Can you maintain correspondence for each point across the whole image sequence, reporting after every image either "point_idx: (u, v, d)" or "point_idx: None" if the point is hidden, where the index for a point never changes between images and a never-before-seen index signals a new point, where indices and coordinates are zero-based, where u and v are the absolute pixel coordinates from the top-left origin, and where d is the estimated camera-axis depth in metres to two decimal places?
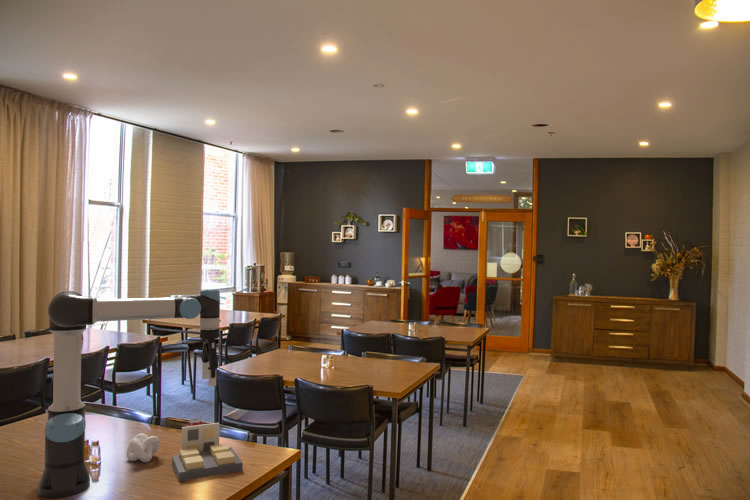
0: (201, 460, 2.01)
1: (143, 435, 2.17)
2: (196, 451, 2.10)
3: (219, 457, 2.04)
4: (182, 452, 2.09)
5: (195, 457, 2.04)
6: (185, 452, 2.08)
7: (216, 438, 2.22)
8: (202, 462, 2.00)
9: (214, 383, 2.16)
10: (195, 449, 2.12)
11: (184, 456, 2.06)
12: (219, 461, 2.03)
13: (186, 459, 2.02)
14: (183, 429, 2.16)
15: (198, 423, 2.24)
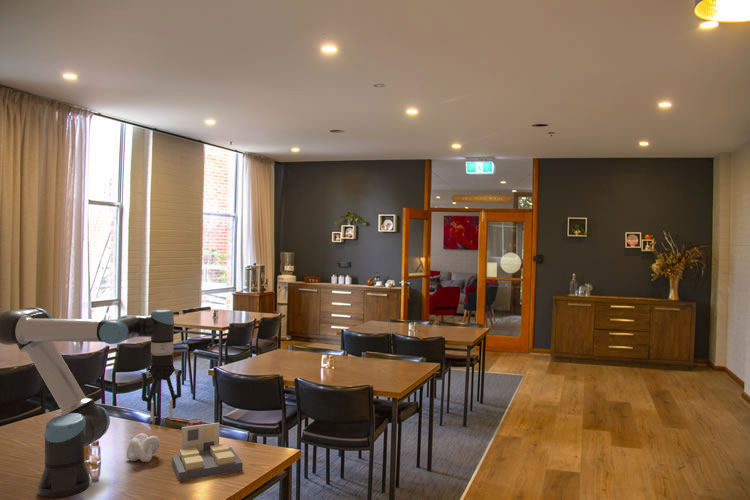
0: (201, 460, 2.01)
1: (143, 435, 2.17)
2: (196, 451, 2.10)
3: (219, 457, 2.04)
4: (182, 452, 2.09)
5: (195, 457, 2.04)
6: (185, 452, 2.08)
7: (216, 438, 2.22)
8: (202, 462, 2.00)
9: (150, 417, 1.99)
10: (195, 449, 2.12)
11: (184, 456, 2.06)
12: (219, 461, 2.03)
13: (186, 459, 2.02)
14: (183, 429, 2.16)
15: (198, 423, 2.24)
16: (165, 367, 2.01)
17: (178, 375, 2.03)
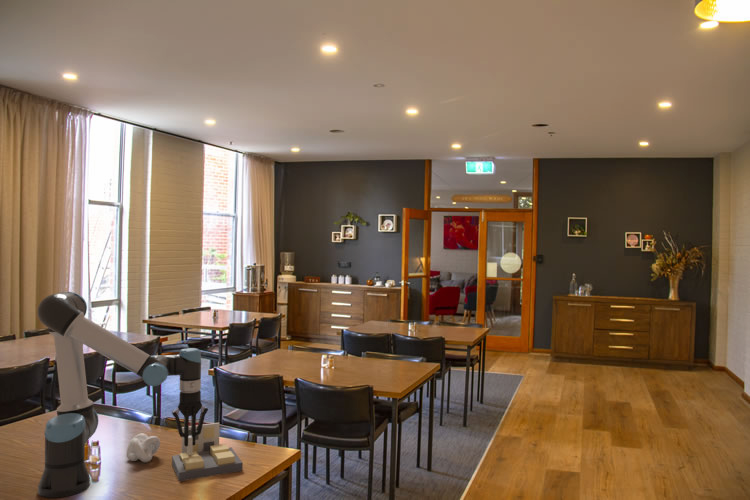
0: (201, 460, 2.01)
1: (143, 435, 2.17)
2: (196, 454, 2.10)
3: (219, 457, 2.04)
4: (182, 455, 2.09)
5: (195, 457, 2.04)
6: (185, 456, 2.08)
7: (216, 438, 2.22)
8: (202, 462, 2.00)
9: (187, 452, 2.09)
10: (195, 452, 2.12)
11: None
12: (219, 461, 2.03)
13: (186, 459, 2.02)
14: (183, 429, 2.16)
15: None
16: None
17: (203, 413, 2.11)
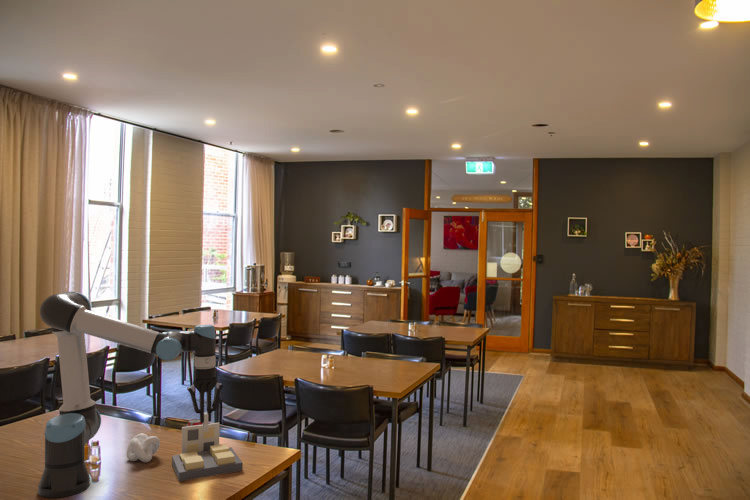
0: (201, 460, 2.01)
1: (143, 435, 2.17)
2: (196, 455, 2.10)
3: (219, 457, 2.04)
4: (182, 456, 2.09)
5: (195, 457, 2.04)
6: (185, 456, 2.08)
7: (216, 438, 2.22)
8: (202, 462, 2.00)
9: (203, 429, 2.08)
10: (195, 453, 2.12)
11: None
12: (219, 461, 2.03)
13: (186, 459, 2.02)
14: (183, 429, 2.16)
15: (198, 423, 2.24)
16: (209, 378, 2.09)
17: (219, 389, 2.10)
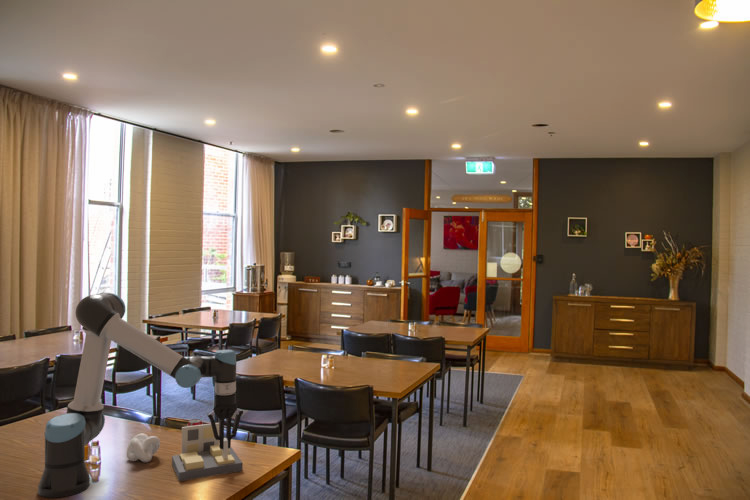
0: (201, 460, 2.01)
1: (143, 435, 2.17)
2: (196, 455, 2.10)
3: (219, 460, 2.04)
4: (182, 456, 2.09)
5: (195, 457, 2.04)
6: (185, 456, 2.08)
7: None
8: (202, 462, 2.00)
9: (223, 455, 2.06)
10: (195, 453, 2.12)
11: None
12: (219, 464, 2.03)
13: (186, 459, 2.02)
14: (183, 429, 2.16)
15: (198, 423, 2.24)
16: (229, 404, 2.06)
17: (238, 415, 2.08)
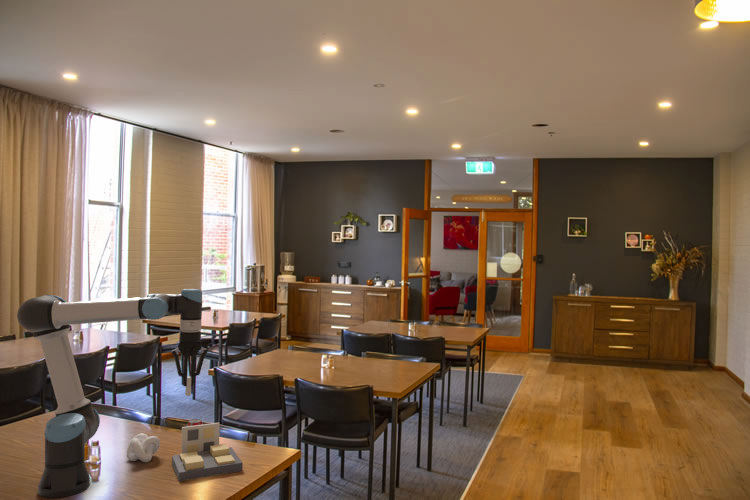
0: (201, 460, 2.01)
1: (143, 435, 2.17)
2: (196, 455, 2.10)
3: (219, 461, 2.04)
4: (182, 456, 2.09)
5: (195, 457, 2.04)
6: (185, 456, 2.08)
7: (216, 438, 2.22)
8: (202, 462, 2.00)
9: (186, 392, 2.08)
10: (195, 453, 2.12)
11: None
12: None
13: (186, 459, 2.02)
14: (183, 429, 2.16)
15: (198, 423, 2.24)
16: (194, 342, 2.08)
17: (203, 354, 2.10)
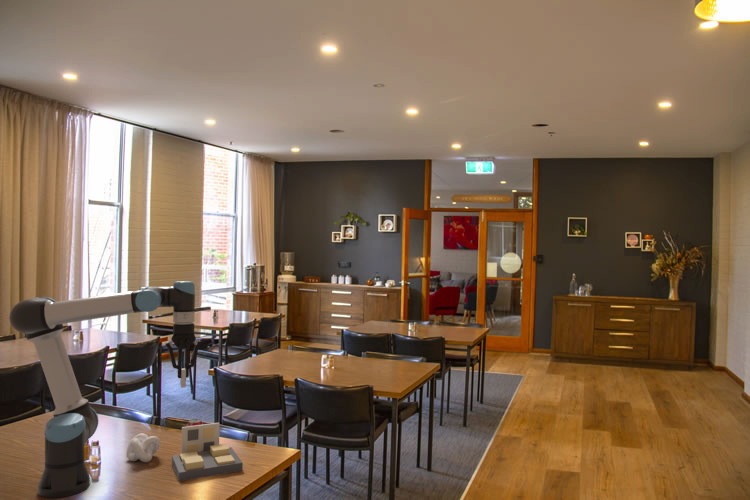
0: (201, 460, 2.01)
1: (143, 435, 2.17)
2: (196, 455, 2.10)
3: (219, 461, 2.04)
4: (182, 456, 2.09)
5: (195, 457, 2.04)
6: (185, 456, 2.08)
7: (216, 438, 2.22)
8: (202, 462, 2.00)
9: (181, 384, 2.08)
10: (195, 453, 2.12)
11: None
12: None
13: (186, 459, 2.02)
14: (183, 429, 2.16)
15: (198, 423, 2.24)
16: (188, 334, 2.09)
17: (197, 345, 2.10)
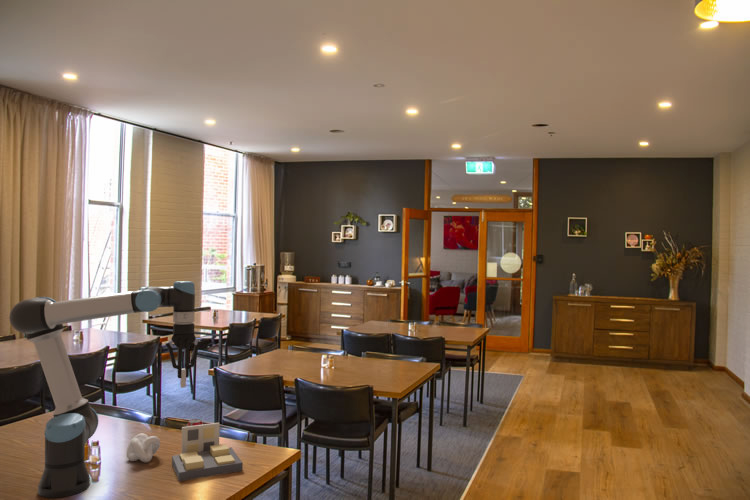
0: (201, 460, 2.01)
1: (143, 435, 2.17)
2: (196, 455, 2.10)
3: (219, 461, 2.04)
4: (182, 456, 2.09)
5: (195, 457, 2.04)
6: (185, 456, 2.08)
7: (216, 438, 2.22)
8: (202, 462, 2.00)
9: (181, 384, 2.08)
10: (195, 453, 2.12)
11: None
12: None
13: (186, 459, 2.02)
14: (183, 429, 2.16)
15: (198, 423, 2.24)
16: (188, 334, 2.09)
17: (197, 345, 2.10)
